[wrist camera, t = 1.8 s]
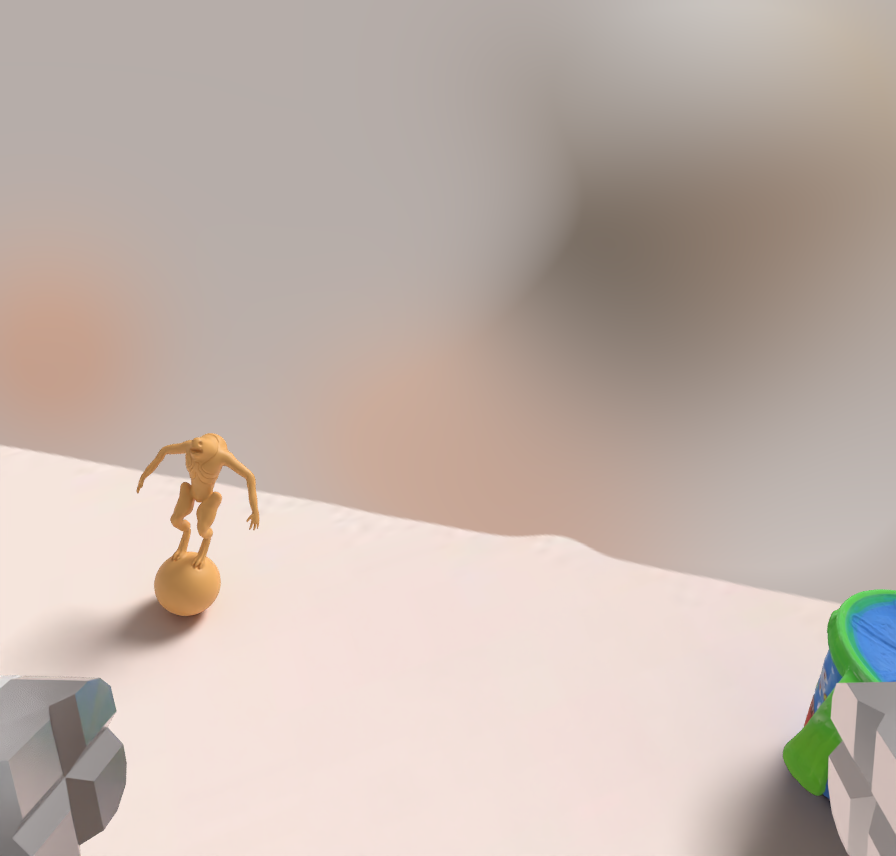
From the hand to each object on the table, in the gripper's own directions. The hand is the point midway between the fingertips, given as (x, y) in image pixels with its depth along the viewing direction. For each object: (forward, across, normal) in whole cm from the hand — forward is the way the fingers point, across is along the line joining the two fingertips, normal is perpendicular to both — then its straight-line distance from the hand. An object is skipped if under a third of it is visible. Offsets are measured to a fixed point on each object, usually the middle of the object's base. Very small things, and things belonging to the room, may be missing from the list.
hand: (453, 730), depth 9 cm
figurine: (+38, +22, +17) cm, 47 cm away
